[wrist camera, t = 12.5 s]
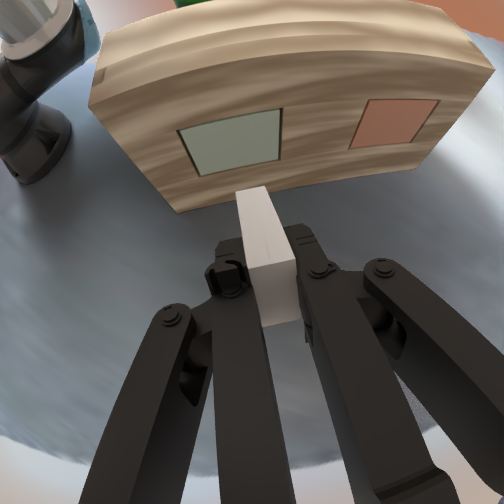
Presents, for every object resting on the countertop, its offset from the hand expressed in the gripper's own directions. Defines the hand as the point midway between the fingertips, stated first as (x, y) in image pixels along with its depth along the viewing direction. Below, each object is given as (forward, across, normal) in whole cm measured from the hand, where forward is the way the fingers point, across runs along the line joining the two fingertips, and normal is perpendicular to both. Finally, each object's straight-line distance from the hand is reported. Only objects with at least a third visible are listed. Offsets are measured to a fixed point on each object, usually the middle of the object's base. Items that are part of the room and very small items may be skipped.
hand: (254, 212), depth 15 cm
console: (+24, +8, -4) cm, 26 cm away
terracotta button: (+16, +16, -1) cm, 23 cm away
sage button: (+16, 0, -1) cm, 16 cm away
